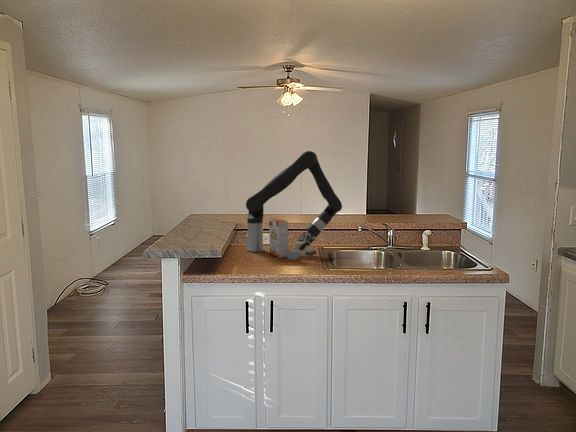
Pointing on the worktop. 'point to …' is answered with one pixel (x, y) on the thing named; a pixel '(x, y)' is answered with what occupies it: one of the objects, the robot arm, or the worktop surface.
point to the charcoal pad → (310, 251)
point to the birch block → (297, 246)
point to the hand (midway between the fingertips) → (297, 248)
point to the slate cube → (293, 254)
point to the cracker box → (278, 237)
